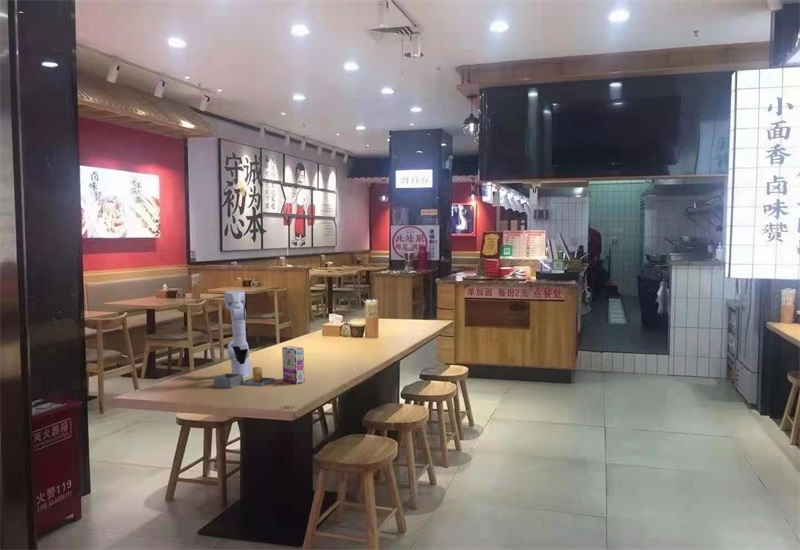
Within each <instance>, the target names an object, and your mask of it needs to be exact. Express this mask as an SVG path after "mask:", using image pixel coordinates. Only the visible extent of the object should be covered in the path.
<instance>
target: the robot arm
mask: <svg viewBox="0 0 800 550" xmlns="http://www.w3.org/2000/svg"><path fill="white" fill-rule="evenodd" d="M245 292H246V291H245V290H243V289H241V290H225V291H224V304H225V306H224V307H225V309H226V310H228V311H229V312H230V316H231V317H230V319H231V328H232V329H231V331H232V340H230V342H228V345H227V357H228V359H229V360H230V364H231V366H230V368H231V374H243V379H244V378H246V377H248V376H249V377H250V376H253V373H252V368H251V361H250V359H249V357H250V349H249V343H248V342H247V335H246V334H247V331H246V320H247V310H246V307H245V305H246V293H245Z"/></svg>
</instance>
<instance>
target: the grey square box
mask: <svg viewBox="0 0 800 550" xmlns="http://www.w3.org/2000/svg"><path fill="white" fill-rule="evenodd" d="M243 381H244V378H243V374H232V372H231V373H228V372H227V373H223V374H220V375H217V376H214V377H213V388H223V389H233V388H235V387H238V386H240V385H241V382H243ZM241 386H242V385H241Z"/></svg>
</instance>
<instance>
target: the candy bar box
mask: <svg viewBox="0 0 800 550" xmlns="http://www.w3.org/2000/svg"><path fill="white" fill-rule="evenodd" d="M281 348H282V349H281V353H282V379H283V382H286V383H291V384H294V385H298V384H304V383H305V361H304V359H305V358H304V355H305V354H304V347H300V346H299V347H298V346H293V345H286V346H282V347H281Z"/></svg>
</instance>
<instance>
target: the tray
mask: <svg viewBox="0 0 800 550" xmlns="http://www.w3.org/2000/svg"><path fill="white" fill-rule="evenodd" d="M275 380H276V379H275V377H265V376H264V377H263V376H262V383H253V377H251V378H248V379H245V380H243V382H241V386H251V387H253V386H255V387H263V386H265V385H268V384H271V383H272V382H275Z"/></svg>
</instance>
